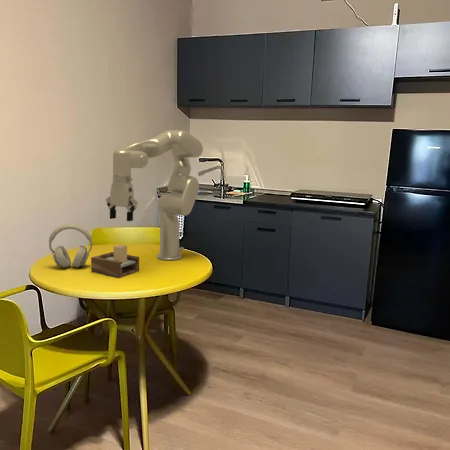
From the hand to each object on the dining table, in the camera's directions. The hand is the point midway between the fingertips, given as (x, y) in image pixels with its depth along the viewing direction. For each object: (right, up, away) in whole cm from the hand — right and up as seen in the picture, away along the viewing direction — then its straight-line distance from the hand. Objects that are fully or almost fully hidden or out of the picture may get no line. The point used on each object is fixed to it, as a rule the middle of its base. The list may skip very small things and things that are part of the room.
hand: (121, 219), depth 197 cm
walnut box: (-4, -23, +5) cm, 24 cm away
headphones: (-25, -22, +10) cm, 35 cm away
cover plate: (-3, -19, +4) cm, 20 cm away
